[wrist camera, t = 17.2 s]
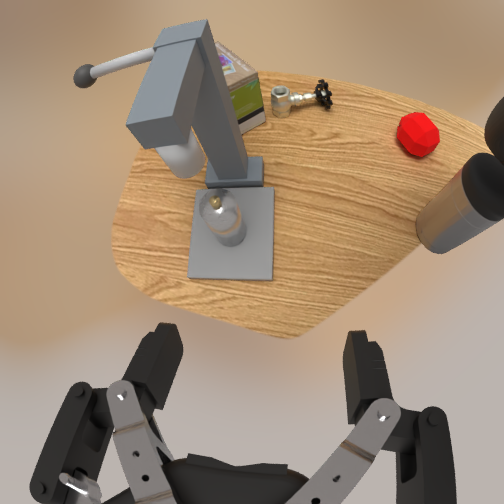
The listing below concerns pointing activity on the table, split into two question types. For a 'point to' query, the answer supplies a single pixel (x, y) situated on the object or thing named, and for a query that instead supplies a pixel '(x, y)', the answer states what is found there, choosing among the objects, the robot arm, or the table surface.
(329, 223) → the table surface
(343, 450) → the robot arm
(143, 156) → the table surface
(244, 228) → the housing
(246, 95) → the tea box
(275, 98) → the valve
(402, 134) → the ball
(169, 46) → the press
